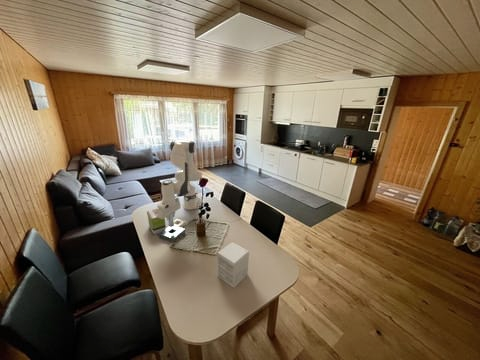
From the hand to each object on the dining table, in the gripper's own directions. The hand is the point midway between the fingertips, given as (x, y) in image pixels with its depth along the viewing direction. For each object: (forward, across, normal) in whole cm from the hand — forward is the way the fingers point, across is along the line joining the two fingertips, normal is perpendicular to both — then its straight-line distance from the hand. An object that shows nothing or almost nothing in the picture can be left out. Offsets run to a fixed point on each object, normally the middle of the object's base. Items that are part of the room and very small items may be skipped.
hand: (170, 218), depth 147 cm
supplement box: (+16, +16, +60) cm, 64 cm away
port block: (+15, 0, 0) cm, 15 cm away
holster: (+15, -13, -6) cm, 21 cm away
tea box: (+16, -3, -18) cm, 24 cm away
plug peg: (+6, 0, 0) cm, 6 cm away
